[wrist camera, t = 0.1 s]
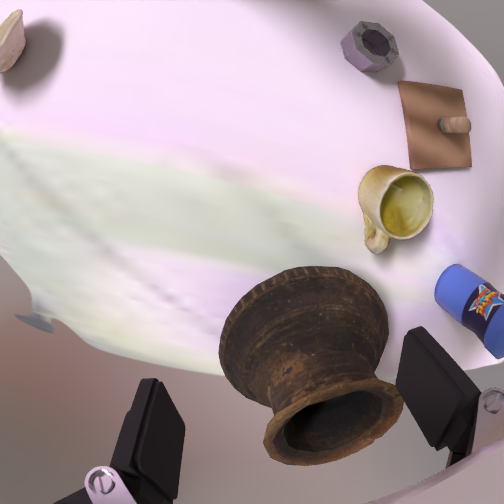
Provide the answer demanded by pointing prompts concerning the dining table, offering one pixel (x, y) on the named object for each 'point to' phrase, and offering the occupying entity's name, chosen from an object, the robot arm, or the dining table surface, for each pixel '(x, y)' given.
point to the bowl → (11, 40)
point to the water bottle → (473, 305)
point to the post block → (435, 126)
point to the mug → (393, 205)
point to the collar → (377, 39)
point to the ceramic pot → (312, 362)
